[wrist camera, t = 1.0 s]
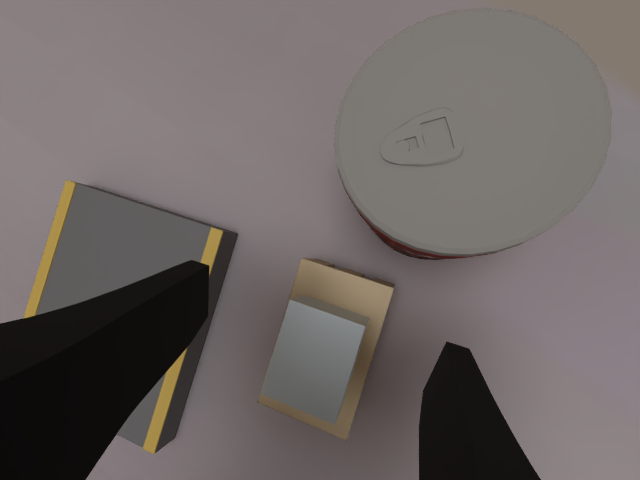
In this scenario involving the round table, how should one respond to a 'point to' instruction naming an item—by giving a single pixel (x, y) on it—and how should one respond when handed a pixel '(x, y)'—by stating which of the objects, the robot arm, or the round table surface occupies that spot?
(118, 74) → the round table surface
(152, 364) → the robot arm
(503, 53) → the canned food
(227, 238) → the dock
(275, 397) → the grey block
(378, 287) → the pallet
